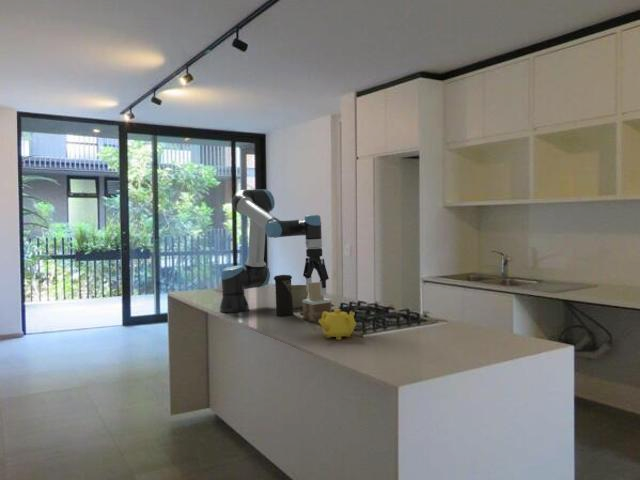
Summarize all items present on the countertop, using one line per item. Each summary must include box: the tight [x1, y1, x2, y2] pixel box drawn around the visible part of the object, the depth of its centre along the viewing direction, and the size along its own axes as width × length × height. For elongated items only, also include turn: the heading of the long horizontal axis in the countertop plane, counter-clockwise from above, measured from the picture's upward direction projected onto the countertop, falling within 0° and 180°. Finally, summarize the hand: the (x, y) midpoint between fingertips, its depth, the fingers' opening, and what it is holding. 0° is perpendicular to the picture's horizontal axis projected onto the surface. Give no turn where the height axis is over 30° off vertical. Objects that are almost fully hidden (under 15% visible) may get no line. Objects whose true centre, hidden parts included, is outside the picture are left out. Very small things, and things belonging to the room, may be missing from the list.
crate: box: [302, 301, 333, 323], centre depth 249 cm, size 10×10×8 cm
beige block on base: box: [302, 281, 332, 305], centre depth 249 cm, size 10×10×9 cm
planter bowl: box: [291, 284, 309, 309], centre depth 286 cm, size 16×16×11 cm
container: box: [273, 274, 294, 317], centre depth 264 cm, size 9×9×20 cm
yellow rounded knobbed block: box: [318, 308, 357, 341], centre depth 212 cm, size 20×18×11 cm
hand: (316, 293), depth 249 cm, fingers open, 13 cm apart
